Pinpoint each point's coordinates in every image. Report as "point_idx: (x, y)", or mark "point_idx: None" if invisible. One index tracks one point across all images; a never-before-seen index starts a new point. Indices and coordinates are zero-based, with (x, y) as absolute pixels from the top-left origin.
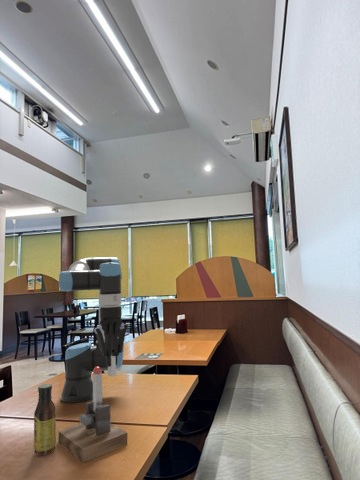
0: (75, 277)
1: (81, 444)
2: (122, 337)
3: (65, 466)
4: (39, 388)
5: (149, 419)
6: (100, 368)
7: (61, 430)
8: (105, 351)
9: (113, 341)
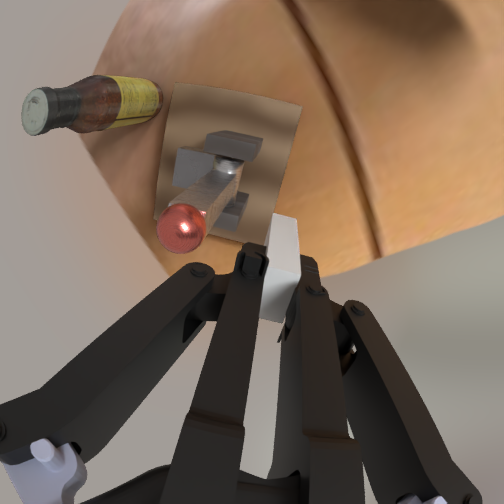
0: None
1: (163, 195)
2: (362, 445)
3: (138, 190)
4: (22, 117)
5: (397, 204)
6: (186, 252)
7: (181, 84)
8: (187, 332)
9: (285, 400)
